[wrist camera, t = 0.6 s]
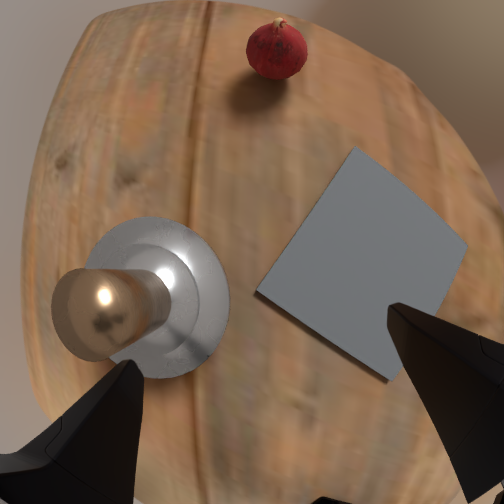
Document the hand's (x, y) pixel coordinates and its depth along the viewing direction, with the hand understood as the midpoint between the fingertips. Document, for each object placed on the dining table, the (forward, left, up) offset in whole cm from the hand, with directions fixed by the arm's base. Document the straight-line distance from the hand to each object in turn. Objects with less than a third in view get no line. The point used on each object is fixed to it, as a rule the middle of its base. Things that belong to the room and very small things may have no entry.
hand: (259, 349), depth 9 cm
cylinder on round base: (-4, +7, -11) cm, 14 cm away
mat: (+9, -7, -15) cm, 19 cm away
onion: (+20, +12, -15) cm, 27 cm away
